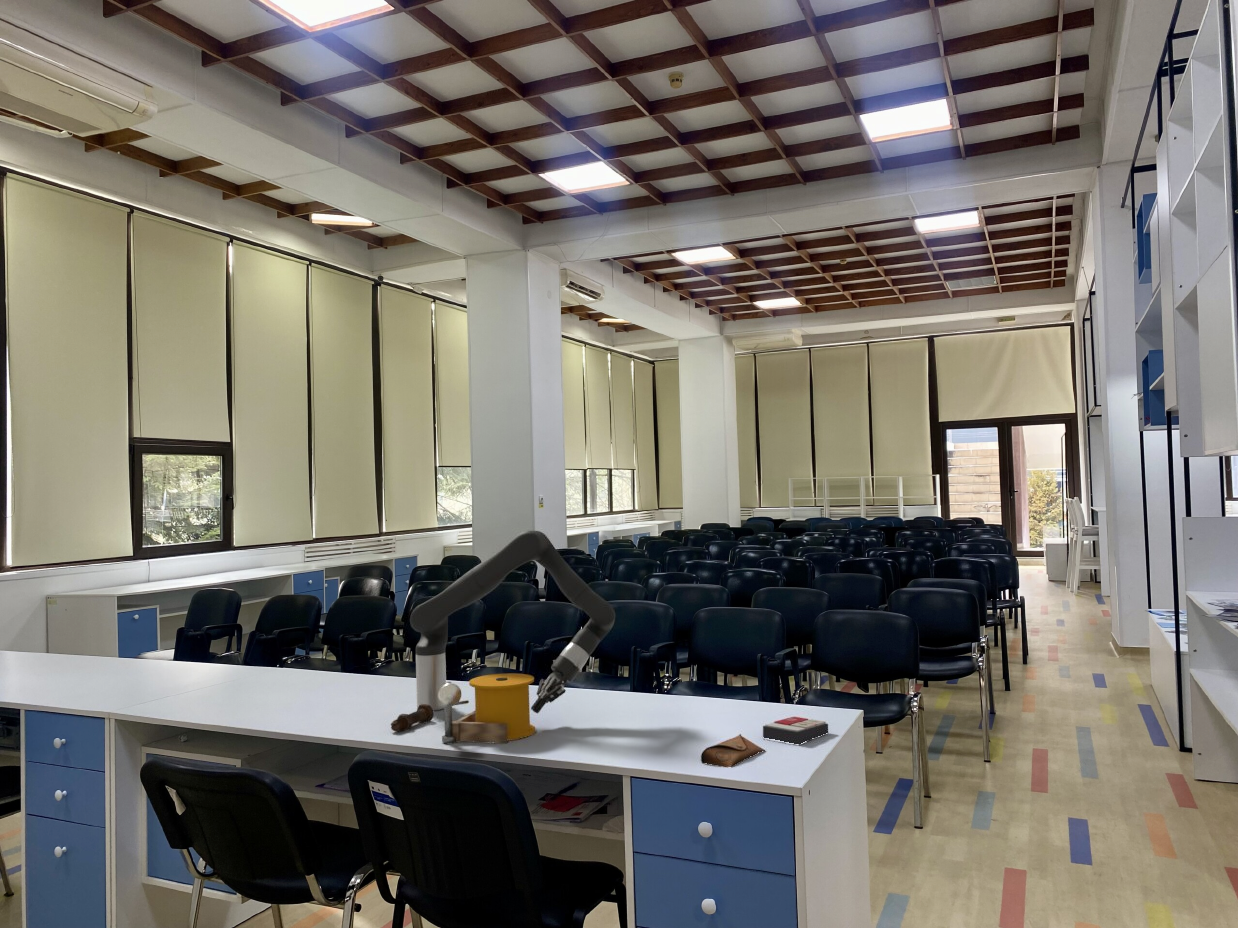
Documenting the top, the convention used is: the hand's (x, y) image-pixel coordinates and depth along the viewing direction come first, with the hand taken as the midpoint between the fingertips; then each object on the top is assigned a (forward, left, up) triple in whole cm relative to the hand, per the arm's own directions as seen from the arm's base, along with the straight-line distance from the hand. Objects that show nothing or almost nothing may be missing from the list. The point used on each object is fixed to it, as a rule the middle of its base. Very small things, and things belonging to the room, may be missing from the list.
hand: (534, 711), depth 254 cm
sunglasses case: (+25, +58, -5) cm, 63 cm away
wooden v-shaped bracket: (+12, -14, -5) cm, 19 cm away
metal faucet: (+15, -18, -5) cm, 24 cm away
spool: (+6, -7, -5) cm, 11 cm away
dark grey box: (+5, +73, -5) cm, 73 cm away
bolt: (0, -37, -5) cm, 38 cm away
